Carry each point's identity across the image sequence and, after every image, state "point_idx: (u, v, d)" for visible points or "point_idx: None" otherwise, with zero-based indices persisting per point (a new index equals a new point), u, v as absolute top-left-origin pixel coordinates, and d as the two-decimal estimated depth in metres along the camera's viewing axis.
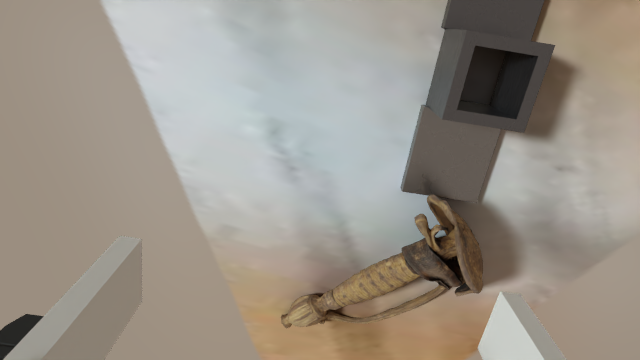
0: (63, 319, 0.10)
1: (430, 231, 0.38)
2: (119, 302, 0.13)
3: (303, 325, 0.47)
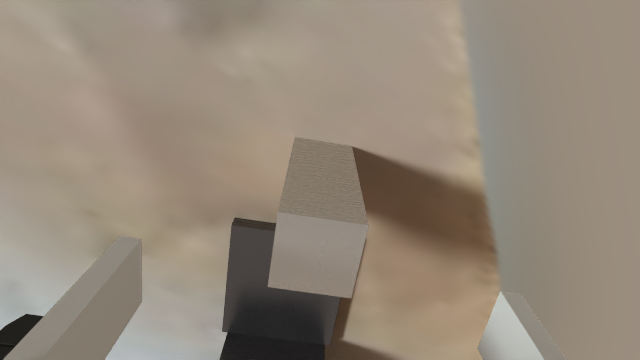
0: (63, 319, 0.10)
1: None
2: (119, 302, 0.13)
3: None
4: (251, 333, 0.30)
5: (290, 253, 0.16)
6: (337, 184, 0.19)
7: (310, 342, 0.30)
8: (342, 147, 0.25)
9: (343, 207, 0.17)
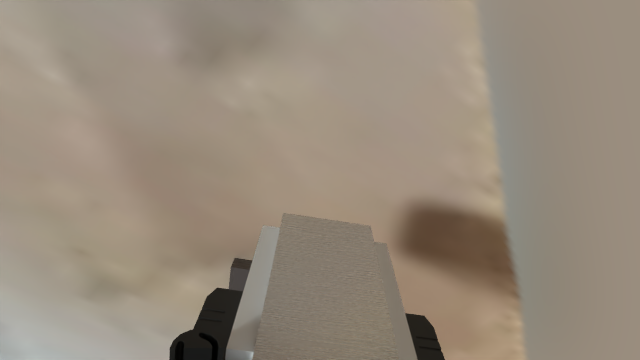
0: (260, 290, 0.12)
1: None
2: None
3: None
4: None
5: None
6: (354, 337, 0.11)
7: None
8: (357, 230, 0.16)
9: None
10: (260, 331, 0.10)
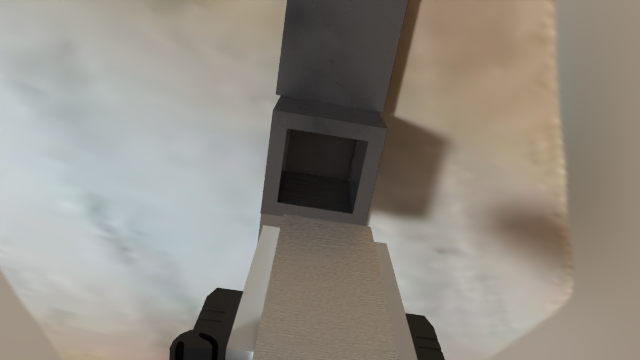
0: (260, 290, 0.12)
1: None
2: None
3: None
4: (305, 96, 0.29)
5: None
6: (354, 339, 0.11)
7: (363, 108, 0.30)
8: (357, 231, 0.16)
9: None
10: (260, 333, 0.10)
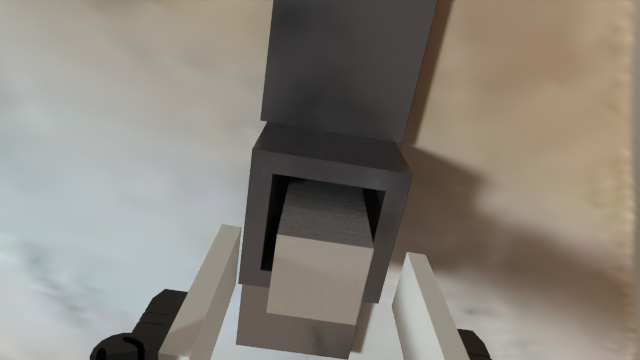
0: (206, 292, 0.12)
1: None
2: (229, 282, 0.15)
3: None
4: (299, 122, 0.22)
5: (290, 278, 0.15)
6: (341, 202, 0.18)
7: (376, 138, 0.23)
8: None
9: (346, 228, 0.16)
10: (287, 196, 0.18)
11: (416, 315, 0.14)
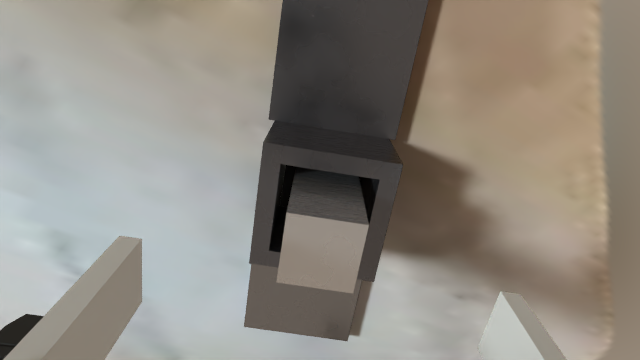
0: (63, 319, 0.10)
1: None
2: (119, 302, 0.13)
3: None
4: (303, 121, 0.25)
5: (298, 251, 0.18)
6: (340, 189, 0.21)
7: (372, 135, 0.25)
8: None
9: (345, 209, 0.19)
10: (293, 184, 0.20)
11: None
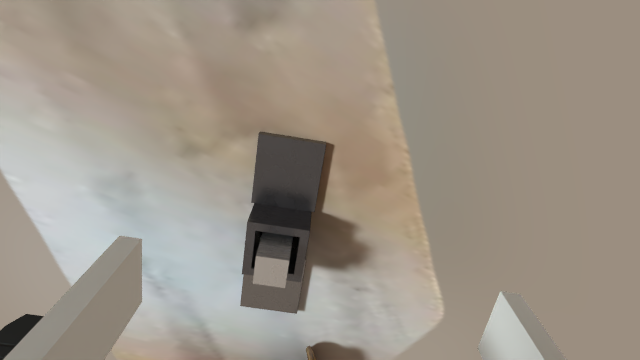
0: (63, 319, 0.10)
1: None
2: (119, 302, 0.13)
3: None
4: (268, 203, 0.51)
5: (261, 271, 0.44)
6: (282, 241, 0.47)
7: (302, 210, 0.51)
8: None
9: (281, 253, 0.44)
10: (261, 239, 0.46)
11: None
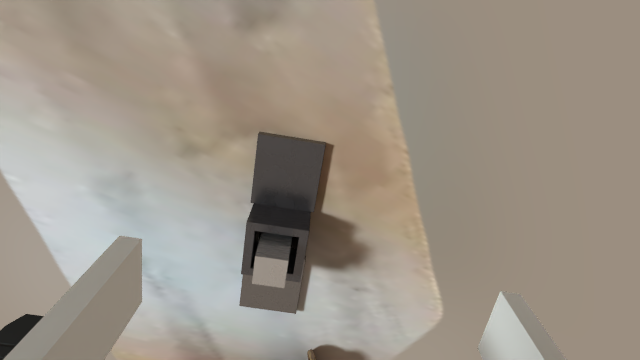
0: (63, 319, 0.10)
1: None
2: (119, 302, 0.13)
3: None
4: (267, 203, 0.51)
5: (260, 271, 0.44)
6: (281, 241, 0.47)
7: (302, 210, 0.51)
8: None
9: (280, 253, 0.44)
10: (260, 240, 0.46)
11: None
